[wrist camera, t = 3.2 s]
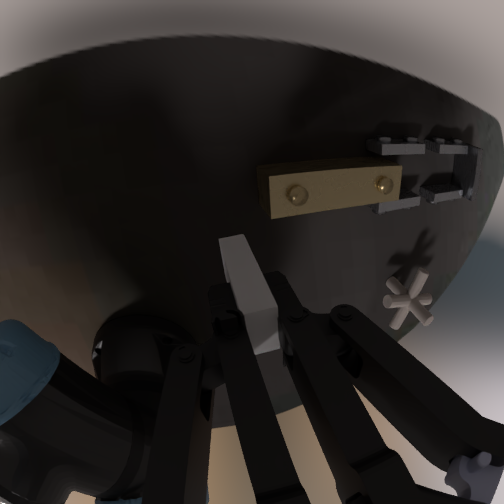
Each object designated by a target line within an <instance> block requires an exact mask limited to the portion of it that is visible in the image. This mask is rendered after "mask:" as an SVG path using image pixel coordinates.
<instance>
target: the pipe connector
mask: <svg viewBox="0 0 504 504" xmlns="http://www.w3.org/2000/svg"><path fill="white" fill-rule="evenodd" d="M428 275H429V272H428V271H426V270H425V269H423V268H419V269H418V271H417V273H416V275H415V277H414V279H413V281H412V283H411V285H410V287H409V289H408V290H407V289H406V288H405V287H404V286H403V285H402V284H401V283H400V282H399V281H398V280H397V279H396V278H395V277H393V276H392V277H390V278H389V279H388V280H387V282H386V285H387V286H388V287H389V288H390V289H391V290H392V292H393V293H394V294H395V295H386V296H385V297H384V299H383V305H384V307H386V308H395V307H398V309H397V311H396V313H395V314H394V316H393V318H392V320H391V321H390V323H389V325H390V327H391V328H393V329H395V330H398V329H399V328H400V326H401V324H402V323H403V321H404V319H405V318H406V316H407V314H408V312H409V311H411V312H412V313H413V314H414V315H415V316H416V317H417V318H418V319H419V321H420V322H421V323H422V324H423V325H424V326H428V325H429V324H430V323H431V322H432V320H433V318H434V317H433V316H432V314H430V312H429V311H428V310H427V309H426V308H425V307H424V306H423V305H428V304H430V303H431V302H432V296H431V294H429V293H422V294H419V293H420V291H421V289H422V287H423V285H424V283H425V281H426V279H427V277H428Z"/></svg>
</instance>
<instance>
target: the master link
mask: <svg viewBox="0 0 504 504" xmlns="http://www.w3.org/2000/svg"><path fill="white" fill-rule="evenodd" d="M256 171H257V184H258V199H259V204H260V205H261V207H262V208H263V209H264V210H265V212H266V213H267V214H268V216H269V217H270V218H271V219H275V218H281V217H287V216H294V215H300V214H306V213H313V212H319V211H326V210H332V209H339V208H346V207H353V206H360V205H367V204H374V203H381V202H389V201H396V200H399V193H400V184H401V175H402V165H399V164H397V163H394V162H392V161H390V160H387V159H384V158H382V157H379V156H377V157H351V158H333V159H319V160H306V161H295V162H285V163H276V164H267V165H258V166H256Z"/></svg>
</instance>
